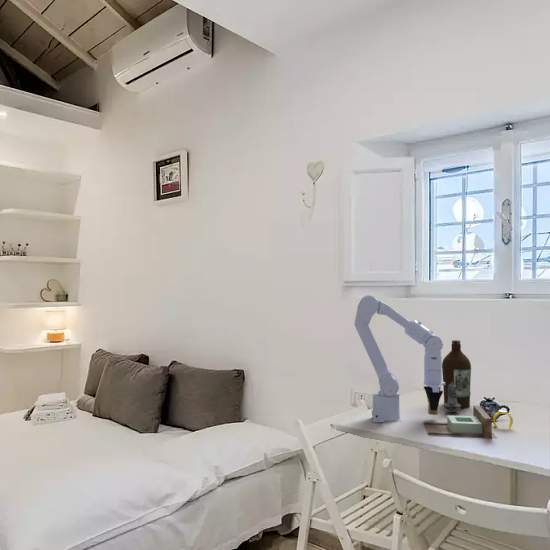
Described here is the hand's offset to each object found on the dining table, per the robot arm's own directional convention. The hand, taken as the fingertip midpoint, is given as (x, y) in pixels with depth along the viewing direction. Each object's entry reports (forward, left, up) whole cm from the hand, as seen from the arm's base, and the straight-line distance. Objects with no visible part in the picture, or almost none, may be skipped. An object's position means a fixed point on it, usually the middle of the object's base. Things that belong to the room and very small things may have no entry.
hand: (433, 408), depth 178 cm
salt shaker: (+8, +10, -5) cm, 14 cm away
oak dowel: (0, 0, -2) cm, 2 cm away
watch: (+21, -6, -5) cm, 22 cm away
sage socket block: (+8, -11, -4) cm, 14 cm away
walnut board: (+6, -11, -4) cm, 13 cm away
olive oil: (+12, +24, -5) cm, 27 cm away
